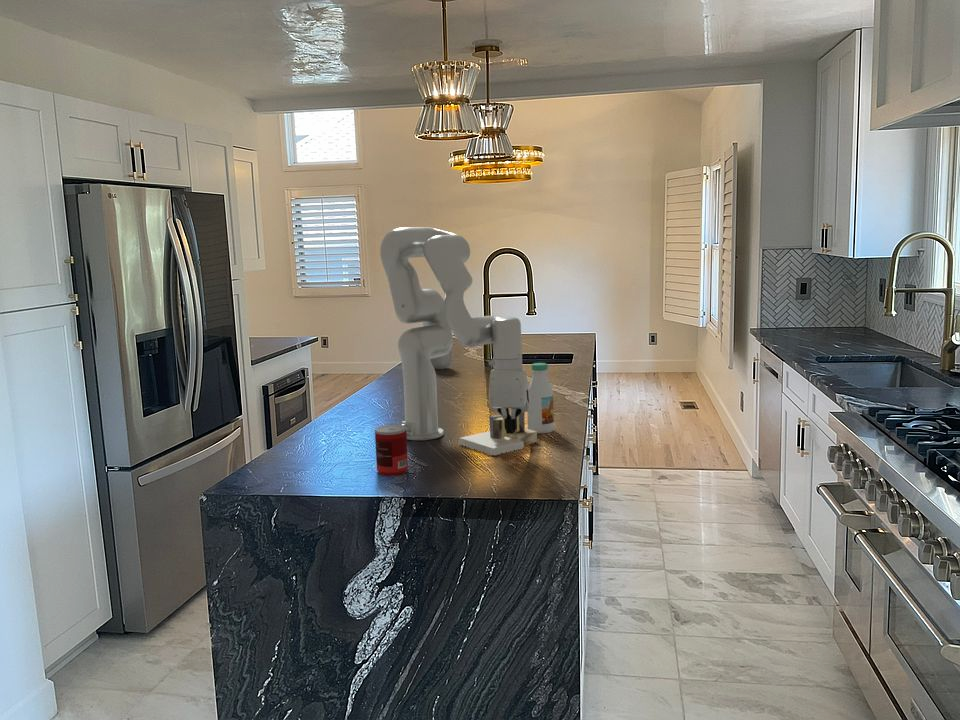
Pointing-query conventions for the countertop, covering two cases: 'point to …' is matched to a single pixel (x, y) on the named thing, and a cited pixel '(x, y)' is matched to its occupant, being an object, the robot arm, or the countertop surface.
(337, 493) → the countertop surface
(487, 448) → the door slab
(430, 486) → the countertop surface
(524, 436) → the jamb block
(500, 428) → the bar
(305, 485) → the countertop surface
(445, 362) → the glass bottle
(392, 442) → the canned food
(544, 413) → the milk bottle
